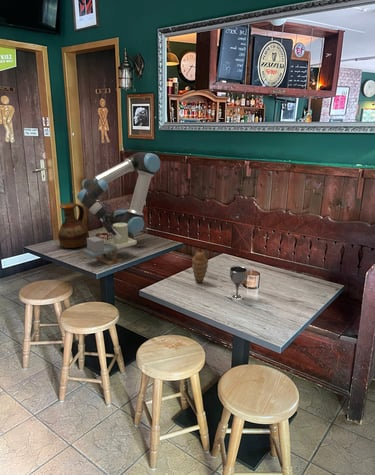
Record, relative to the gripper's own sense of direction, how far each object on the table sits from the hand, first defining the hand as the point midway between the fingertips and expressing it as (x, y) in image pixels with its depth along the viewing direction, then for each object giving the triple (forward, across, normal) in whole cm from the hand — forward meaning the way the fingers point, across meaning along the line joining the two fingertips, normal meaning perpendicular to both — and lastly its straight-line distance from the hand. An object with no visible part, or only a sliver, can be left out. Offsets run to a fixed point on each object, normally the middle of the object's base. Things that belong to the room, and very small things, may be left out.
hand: (123, 235), depth 233 cm
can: (+2, 0, -5) cm, 5 cm away
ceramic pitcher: (-17, -18, -38) cm, 45 cm away
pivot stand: (+5, +7, -16) cm, 18 cm away
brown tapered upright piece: (+46, +33, +25) cm, 62 cm away
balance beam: (0, +6, -10) cm, 12 cm away
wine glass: (+60, +48, +39) cm, 86 cm away
